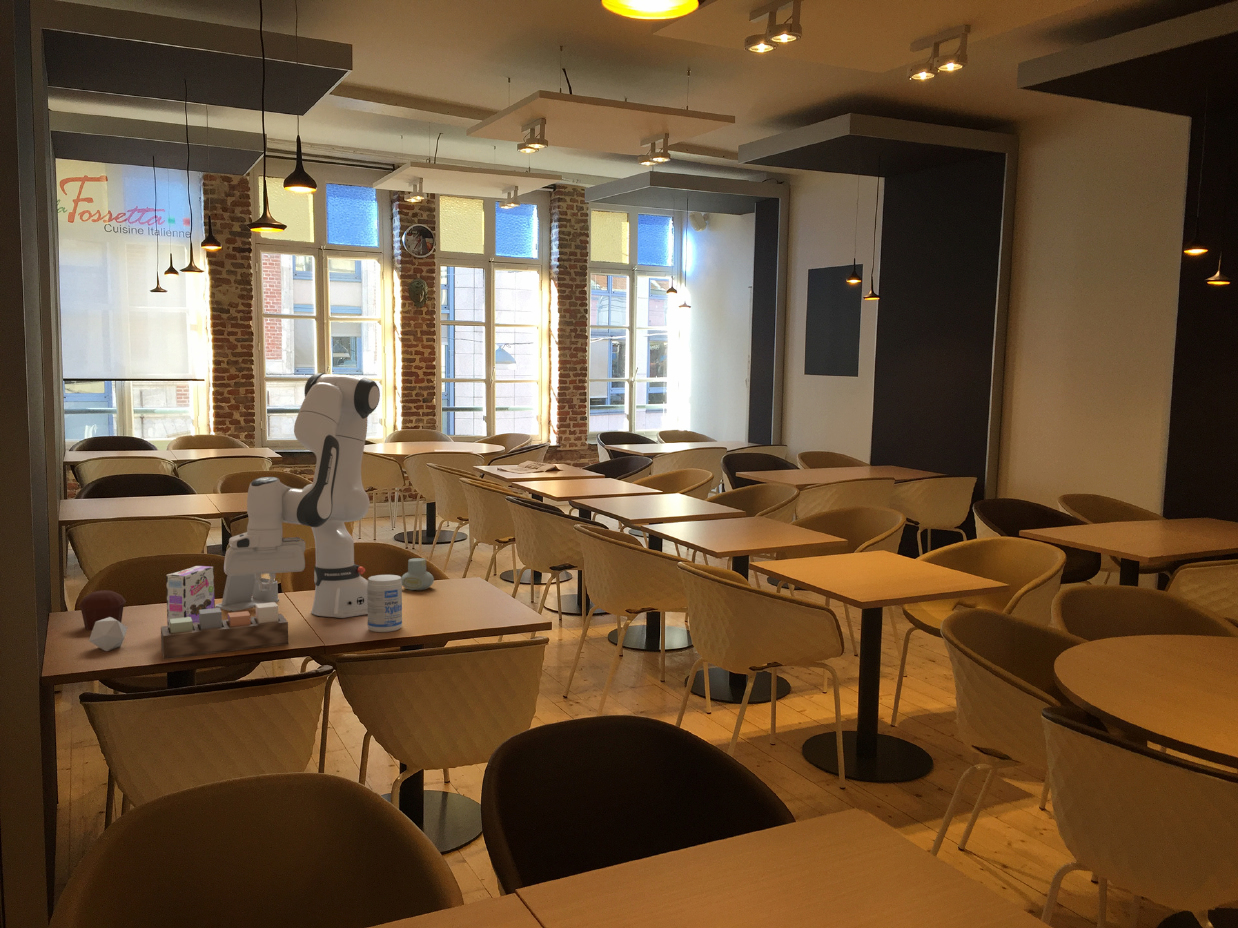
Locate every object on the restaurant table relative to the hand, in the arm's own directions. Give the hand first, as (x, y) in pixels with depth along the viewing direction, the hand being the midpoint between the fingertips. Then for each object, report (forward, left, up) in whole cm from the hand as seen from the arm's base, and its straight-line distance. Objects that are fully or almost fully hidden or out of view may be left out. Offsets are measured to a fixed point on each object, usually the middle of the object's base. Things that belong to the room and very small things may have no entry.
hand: (265, 590), depth 256 cm
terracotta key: (+7, 0, -11) cm, 13 cm away
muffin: (+38, -37, -14) cm, 55 cm away
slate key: (+14, 0, -9) cm, 16 cm away
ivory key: (0, 0, -9) cm, 9 cm away
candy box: (+16, -25, -14) cm, 33 cm away
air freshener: (-55, -44, -15) cm, 72 cm away
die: (+37, -12, -14) cm, 42 cm away
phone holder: (-2, -47, -15) cm, 49 cm away
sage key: (+21, 0, -11) cm, 23 cm away
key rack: (+10, 0, -14) cm, 17 cm away
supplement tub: (-32, +1, -14) cm, 35 cm away
